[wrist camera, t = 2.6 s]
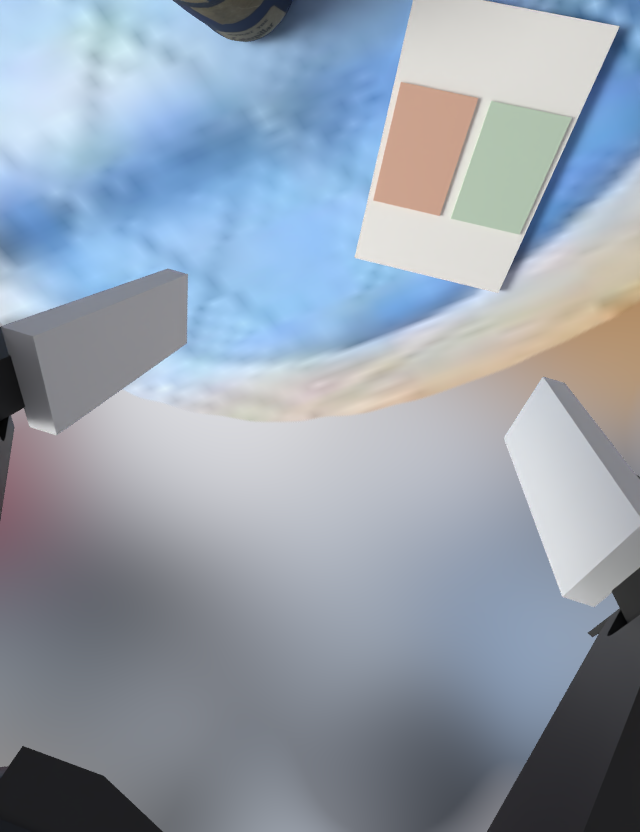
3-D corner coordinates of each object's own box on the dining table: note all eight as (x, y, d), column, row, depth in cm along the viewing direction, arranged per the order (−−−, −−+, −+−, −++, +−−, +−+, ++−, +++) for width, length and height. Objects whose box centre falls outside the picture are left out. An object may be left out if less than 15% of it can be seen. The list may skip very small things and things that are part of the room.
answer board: (415, -7, 27) (415, -15, 25) (612, 31, 26) (621, 24, 25) (355, 256, 36) (354, 258, 35) (496, 290, 36) (498, 293, 34)
